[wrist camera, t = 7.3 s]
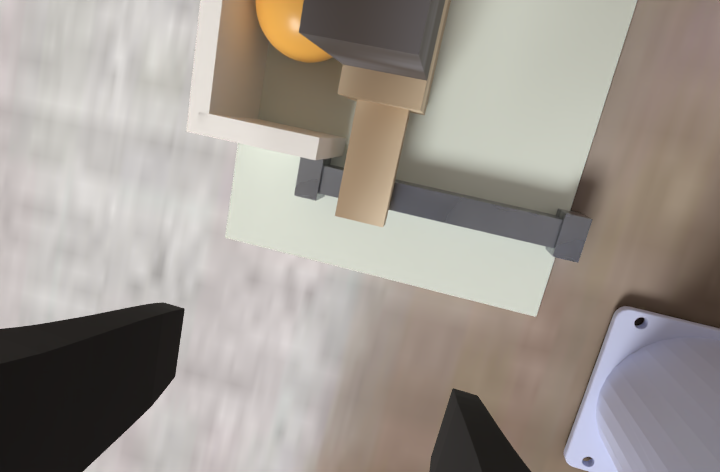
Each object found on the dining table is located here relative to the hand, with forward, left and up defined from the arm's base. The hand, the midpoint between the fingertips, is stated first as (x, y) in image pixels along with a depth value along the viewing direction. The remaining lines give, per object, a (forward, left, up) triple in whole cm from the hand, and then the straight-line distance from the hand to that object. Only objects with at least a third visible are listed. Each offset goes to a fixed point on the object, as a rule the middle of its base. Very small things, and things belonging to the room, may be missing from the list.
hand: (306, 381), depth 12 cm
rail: (-2, -4, -10) cm, 11 cm away
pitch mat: (0, -9, -10) cm, 14 cm away
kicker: (+1, -8, -10) cm, 13 cm away
